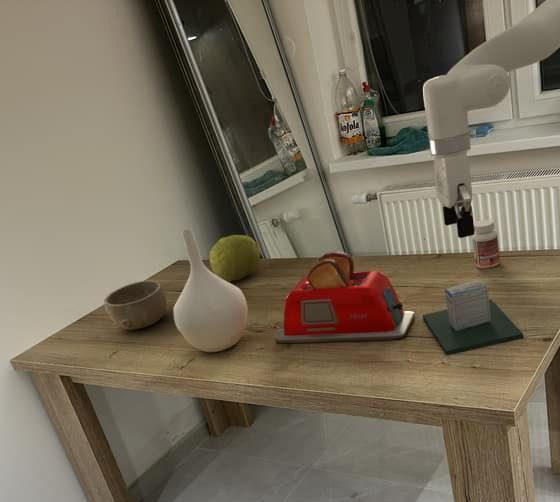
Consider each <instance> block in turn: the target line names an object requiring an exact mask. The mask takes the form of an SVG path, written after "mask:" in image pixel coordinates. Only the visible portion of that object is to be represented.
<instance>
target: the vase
mask: <svg viewBox="0 0 560 502" xmlns="http://www.w3.org/2000/svg"><path fill="white" fill-rule="evenodd" d="M181 236H182V240H183V244H184V246H185V252H186V255H187V258H188V262H189V264H190V265H189V266H190V273H189V277H188V279H187V280H186V283H185V285H184V286H183V290H182V292H181V293H180V295H179V297H178V299H177V300H176V301H175V302H176V303H175V304H174V306H173V321H174V323H175V326H176V328H177V330H178V331H179V333H180V334H181V335H182V337H184V339H185V340H186V342H188V343H189V344H190V345H192V346H193V347H194V348H196V349H197V350H199V351H201V352H204V353H217V352H221V351H224V350H227V349H230V348H231V347H234V346H235V345H236V344H237V343H238V342H239V341H240V340H241V338H242V337H243V335H244V332H245V329H246V327H247V323H248V311H249V307H248V303H247V299H246V296H245V295H244V293H243V292H242V289H241V288H239V287H238V286H236V285H234V284H233V283H230V282H229V281H228V280H223V279H221V278H220V277H218V276H217V275H216V274H215V272H213V271H210V269H208V268H207V266H205V264H204V262H203V259H202V256H201V252H200V249H199V247H198V243H197V240H196V237H195V234H194V230H193V228H186V229H183V230H181Z"/></svg>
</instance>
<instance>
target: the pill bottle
mask: <svg viewBox="0 0 560 502" xmlns="http://www.w3.org/2000/svg"><path fill="white" fill-rule="evenodd" d="M495 228H496V227H495V221H494V220H492V219H481V220H477V221H475V222H474V231H475V234H474V235H472V247H473V255H474V264H475V267H477V268H479V269H490V268H494V267H496V266H498V265H499V264H500V261H501V260H500V250H499V238H498V232H497V231H496V230H495Z"/></svg>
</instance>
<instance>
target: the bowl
mask: <svg viewBox="0 0 560 502" xmlns="http://www.w3.org/2000/svg"><path fill="white" fill-rule="evenodd" d="M103 305H104V308H105V311H106V312H107V315H108V316H109V317H110V319H111V321H112V322H113V323H114V324H115V325H116V326H118V328H121V329H123V330H127V331H133V330H140V329H144V328H147V327H150V326H152V325H154V324H155V323H157V322H158V321H160V320H161V318H162V317H163V316H164V315H165V313H166V312H167V297H166V292H165V290H164V288H163V286H162V284H161V283H160V282H159V281H156V280H140V281H136V282H133V283H129V284H126V285H124V286H121V287H119V288H117V289H115V290H113V291H112V292H110V293H109V294H108V295H106V296H105V298H104V299H103Z"/></svg>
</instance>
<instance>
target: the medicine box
mask: <svg viewBox="0 0 560 502" xmlns="http://www.w3.org/2000/svg"><path fill="white" fill-rule="evenodd" d="M444 293H445V303H446V308H447V309H446V310H448V318H449V324H450V325H451V326H452V327H453V328H454V329H455V330H456V331H459V330H462V329H466V328H469V327H473V326H476V325H480V324H483V323H487V322H490V321H491V319H490V309H489V300H490V299H489V287H488V285H486V283H484V282H483V281H481V280H479V279H476V280H473V281H468V282H465V283H461V284H458V285H455V286H451V287H448V288H445V289H444Z"/></svg>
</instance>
